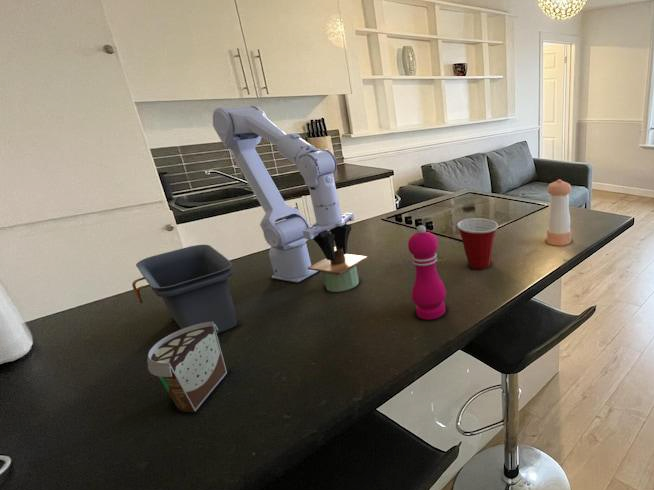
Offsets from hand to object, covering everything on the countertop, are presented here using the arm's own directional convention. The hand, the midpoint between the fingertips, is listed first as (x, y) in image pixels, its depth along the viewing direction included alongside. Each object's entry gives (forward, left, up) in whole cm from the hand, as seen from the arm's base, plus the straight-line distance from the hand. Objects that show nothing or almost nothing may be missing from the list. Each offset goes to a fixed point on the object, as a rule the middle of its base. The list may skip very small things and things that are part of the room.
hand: (336, 256), depth 101 cm
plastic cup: (+29, +21, -8) cm, 37 cm away
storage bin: (-17, -25, -8) cm, 31 cm away
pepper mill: (+29, -5, -8) cm, 30 cm away
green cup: (0, 0, -8) cm, 8 cm away
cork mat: (0, 0, -2) cm, 2 cm away
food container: (+4, -40, -8) cm, 41 cm away
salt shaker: (+45, +44, -8) cm, 63 cm away
